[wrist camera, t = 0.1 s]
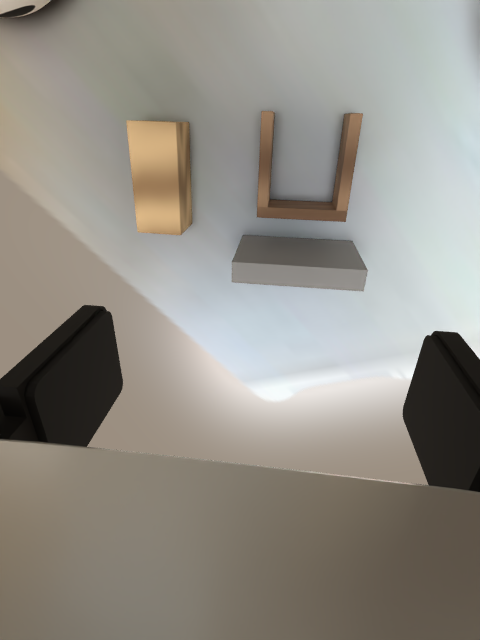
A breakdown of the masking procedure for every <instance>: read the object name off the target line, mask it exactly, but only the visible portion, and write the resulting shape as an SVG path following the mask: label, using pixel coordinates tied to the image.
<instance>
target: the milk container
mask: <svg viewBox="0 0 480 640" xmlns="http://www.w3.org/2000/svg"><path fill="white" fill-rule="evenodd" d="M50 1H51V0H0V18H13V17H20V16H25V15H28V14H31V13H33V12H35V11H37V10H39V9H40V8H42V7H44V6H45V5H46V4H47V3H49V2H50Z"/></svg>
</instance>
